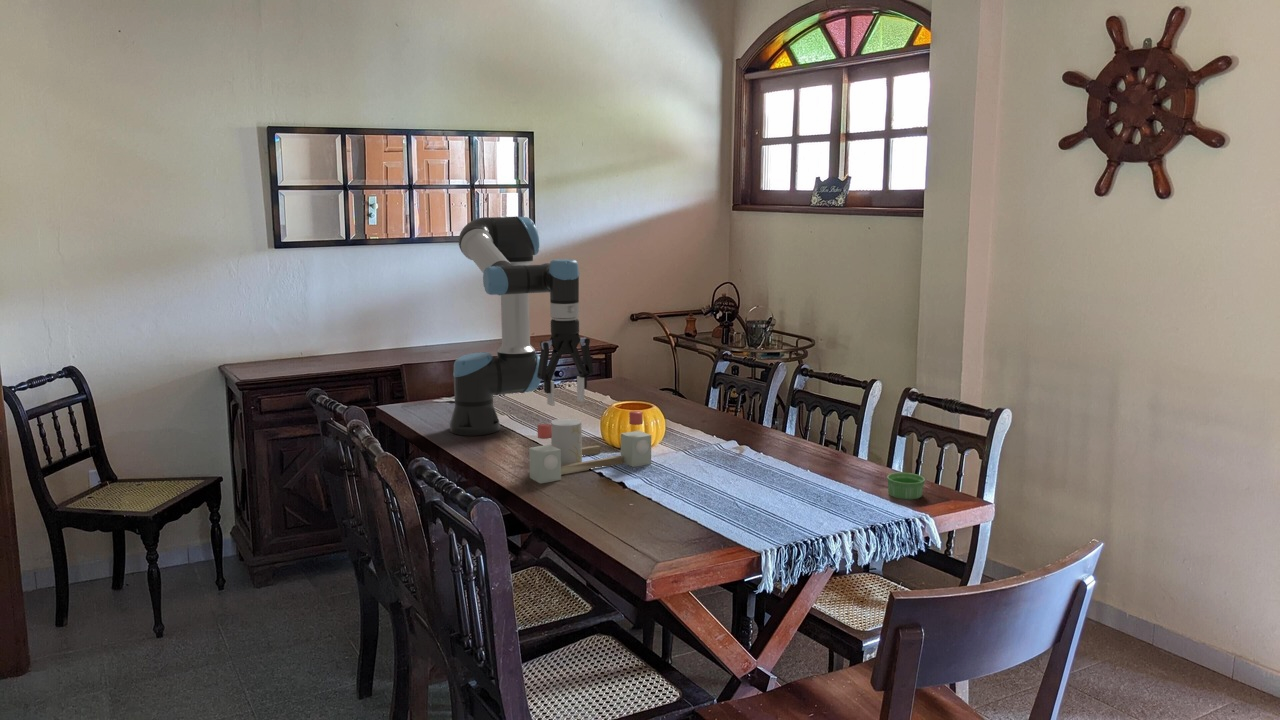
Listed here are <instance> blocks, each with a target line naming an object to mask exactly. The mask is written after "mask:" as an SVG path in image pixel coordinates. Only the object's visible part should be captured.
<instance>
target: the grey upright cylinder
mask: <svg viewBox="0 0 1280 720" xmlns="http://www.w3.org/2000/svg"><path fill="white" fill-rule="evenodd" d="M550 425H552V437H551V438H550V440H551V441H550V442H551V444H550V445H552V446H554V447H556V448H558V449H560V450H561V465H567V464H573V463H579V462H583V456H582V448H583V437H582V436H583V435H582V432H583V431H582V426H583V425H582V420H580V419H576V418H569V417H568V418H557V419H553V420H552V421H550Z"/></svg>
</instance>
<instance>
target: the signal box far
mask: <svg viewBox="0 0 1280 720" xmlns="http://www.w3.org/2000/svg"><path fill="white" fill-rule="evenodd" d="M620 456H622V457H623V464H624V463H625V465H627V466H629V467H631V466H632V467H631V468H635V467H640V466H641V467H642V466H647V465H651V464H652V435H651V434H650V433H646V432H644V431H642V430H635V431H627V432H621V433H620Z"/></svg>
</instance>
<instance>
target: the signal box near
mask: <svg viewBox="0 0 1280 720" xmlns="http://www.w3.org/2000/svg"><path fill="white" fill-rule="evenodd" d="M528 451H529V452H528V453H529V454H528V455H529V478H530V479H531V480H533V481H534V482H537V483H538V484H547V483H551V482H557V481H561V480H562V475H561V450H560V449H558V448H556V447H554V446H552V445H551V444H545V445H538V446H532V447H529V448H528Z"/></svg>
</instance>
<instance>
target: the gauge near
mask: <svg viewBox="0 0 1280 720" xmlns="http://www.w3.org/2000/svg"><path fill="white" fill-rule="evenodd" d="M536 426H537V438H538V439H539V440H540V439H542V440H547V439H551V437H552V425H551V423H541V424H538V425H536Z"/></svg>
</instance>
